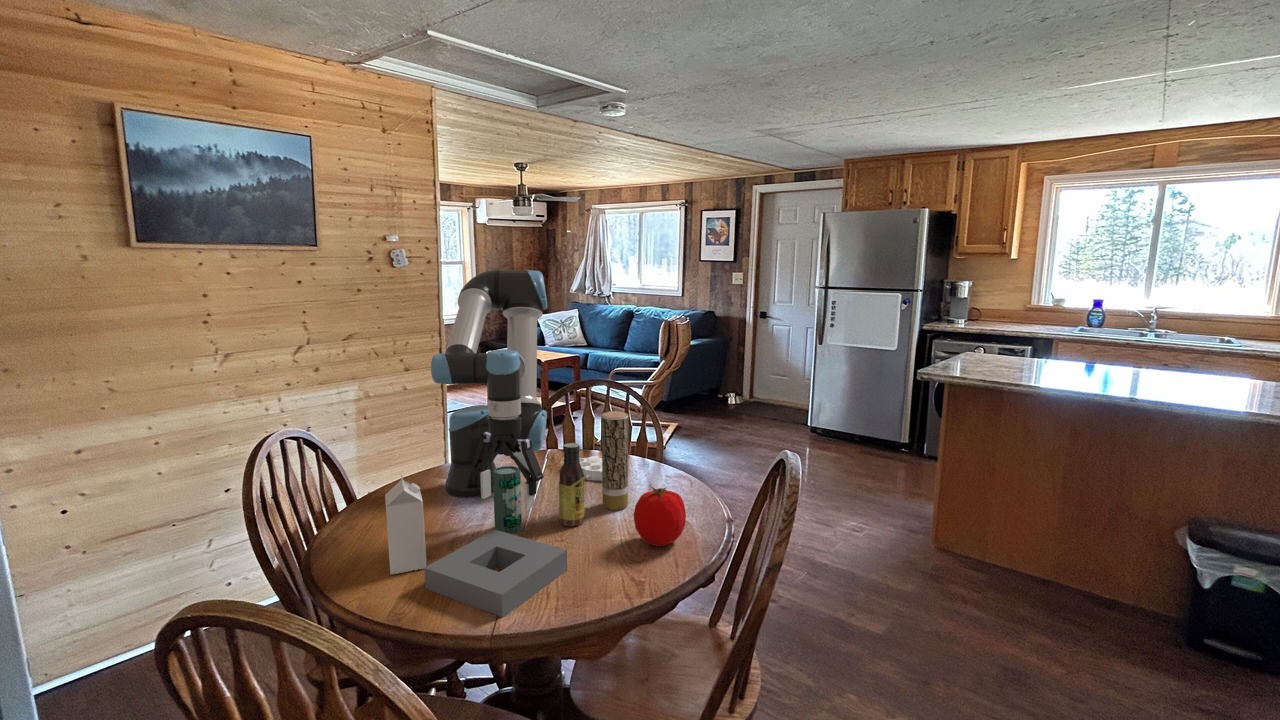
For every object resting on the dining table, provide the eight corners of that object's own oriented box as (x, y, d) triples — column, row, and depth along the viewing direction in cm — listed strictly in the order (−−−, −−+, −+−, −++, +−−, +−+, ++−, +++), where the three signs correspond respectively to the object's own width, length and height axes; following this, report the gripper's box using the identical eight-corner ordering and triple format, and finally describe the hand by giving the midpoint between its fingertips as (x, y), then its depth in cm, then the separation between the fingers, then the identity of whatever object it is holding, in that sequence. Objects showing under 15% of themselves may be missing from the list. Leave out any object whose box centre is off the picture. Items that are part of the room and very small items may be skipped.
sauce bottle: (580, 529, 149) (579, 450, 146) (555, 526, 150) (554, 448, 147) (587, 518, 155) (587, 442, 152) (564, 515, 156) (563, 440, 153)
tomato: (693, 550, 138) (694, 494, 136) (641, 557, 135) (641, 500, 133) (676, 529, 149) (676, 477, 147) (627, 535, 146) (627, 482, 144)
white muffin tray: (632, 473, 189) (601, 487, 177) (588, 462, 200) (557, 474, 188) (632, 463, 188) (601, 476, 177) (588, 452, 199) (556, 463, 188)
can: (513, 536, 145) (511, 475, 142) (490, 532, 147) (488, 472, 144) (525, 526, 150) (524, 467, 148) (504, 522, 152) (502, 464, 150)
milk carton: (390, 575, 127) (384, 488, 124) (389, 560, 133) (383, 476, 130) (426, 569, 129) (421, 483, 126) (423, 554, 136) (419, 472, 133)
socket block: (425, 588, 122) (424, 567, 121) (495, 548, 139) (494, 529, 138) (502, 617, 112) (501, 594, 111) (567, 570, 129) (566, 550, 128)
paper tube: (613, 513, 158) (613, 419, 154) (597, 505, 163) (596, 414, 159) (633, 506, 163) (633, 415, 158) (617, 499, 168) (617, 410, 164)
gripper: (454, 412, 147) (458, 497, 150) (536, 426, 135) (538, 518, 138) (476, 406, 153) (479, 487, 157) (557, 419, 141) (558, 506, 145)
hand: (507, 502), depth 147 cm, fingers open, 13 cm apart
